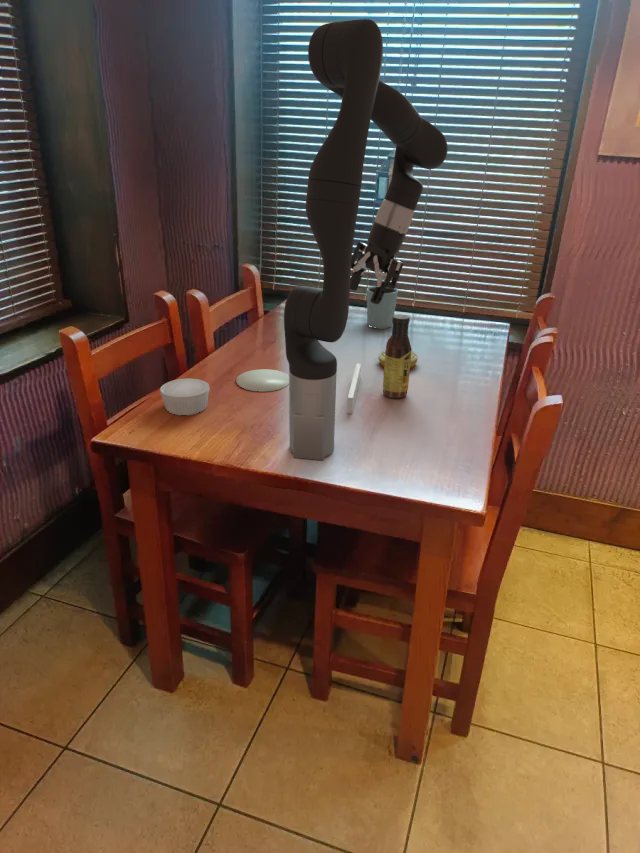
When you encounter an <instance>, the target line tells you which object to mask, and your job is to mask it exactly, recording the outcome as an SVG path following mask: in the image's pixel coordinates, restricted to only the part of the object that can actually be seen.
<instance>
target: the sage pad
mask: <svg viewBox="0 0 640 853" xmlns="http://www.w3.org/2000/svg"><path fill="white" fill-rule="evenodd" d="M236 384H237V386H238V385H239V386H238V387H240V388H241V387H242V388H241V389H243V388H244V390H246V391H250V392H257V391H258V392H260V393H262V392H265V393H267V392H274V391H278V390H282V389H284V388H286V387H289V374H288V373H286V372H284V371H280V370H276V369H269V368H268V369H267V368H266V369H265V368H263V369H262V368H260V369H252V370H248V371H245V372H242V373H241V374H239V375H238V376H237V377H236Z"/></svg>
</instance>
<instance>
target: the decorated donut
mask: <svg viewBox="0 0 640 853" xmlns="http://www.w3.org/2000/svg"><path fill="white" fill-rule="evenodd" d="M385 354H386V349H385V350H383V351H382V352H381V353H379V355H378V357H377V358H378V361H379V363H380V365H381V366H382V367H383V368H384V365H385ZM418 356H419V355H418V354H417V353H416V352H414V351H413V350H412V351H411V362H410V369H413V368H414V367H415V366H416V365H417V363H418Z"/></svg>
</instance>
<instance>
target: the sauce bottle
mask: <svg viewBox="0 0 640 853" xmlns="http://www.w3.org/2000/svg"><path fill="white" fill-rule="evenodd" d="M410 321H411V317H410V316H409V315H405V314H394V316H393V319H392V323H393V325H392V328H391V330H392V331H391V336H390V337H389V338H388V339H387V342H386V344H385V345H386V346H385V350H386V354H385V365H384V367H383V378H382V379H383V380H382V381H383V382H382V394H383V395H384V396H385V397H387V398H390V399H397V400H398V399H401V398H405V397H406V396H407V394H408V389H409V381H410V374H411V373H410V370H411V368H410V362H411V351H413V349H412V345H411V342H410V338H409V324H410Z"/></svg>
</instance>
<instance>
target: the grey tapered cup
mask: <svg viewBox="0 0 640 853" xmlns="http://www.w3.org/2000/svg"><path fill="white" fill-rule="evenodd" d="M376 286H377V285H373V286H369V287H367V288H366V299H367V300H366V307H367V308H366V325H367V324H368V325H370V326H372V327H376V328H388V327H391V326H392V327H393V323H392V319H393V316H394V315H395V311H396V305H397V299H398V294H399V290H398V288H396V287H395V288H394V289H386V290H385V293H384V295H383V298H382V300H381V302H380V303H379V304H374V303H372V302H371V301H370V300H371V298H372V295H373V293H374V290H375V288H376ZM368 325H367V326H368ZM392 327H391V328H392ZM388 329H389V328H388Z"/></svg>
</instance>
